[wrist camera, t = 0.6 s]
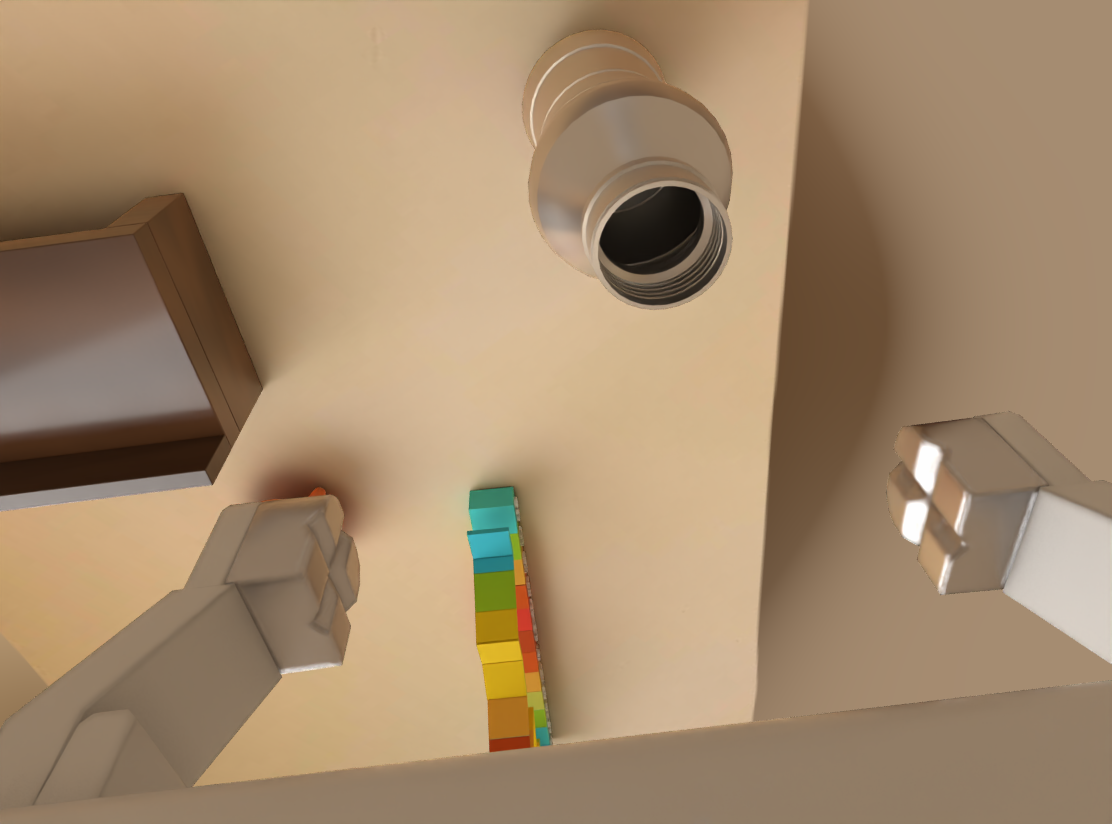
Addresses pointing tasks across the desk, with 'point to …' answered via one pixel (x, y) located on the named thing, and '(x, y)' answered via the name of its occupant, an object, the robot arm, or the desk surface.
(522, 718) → the chart
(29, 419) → the shelf
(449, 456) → the desk surface
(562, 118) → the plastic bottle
